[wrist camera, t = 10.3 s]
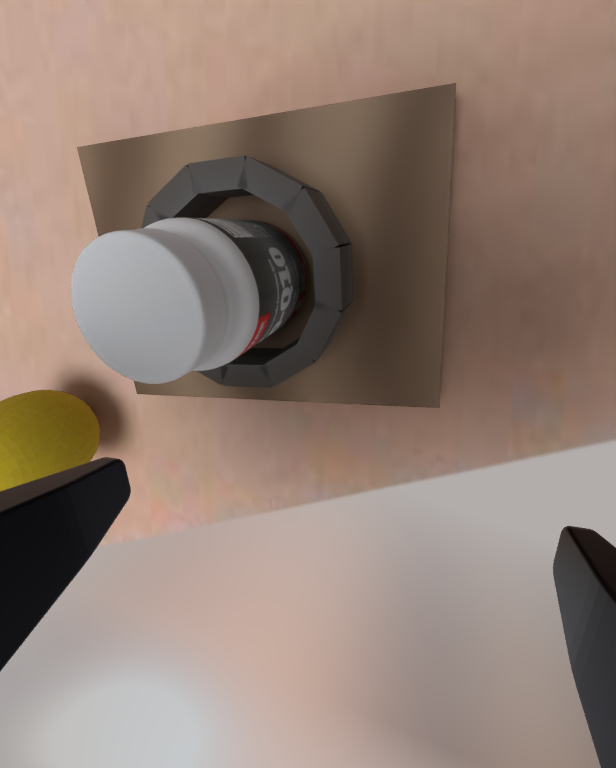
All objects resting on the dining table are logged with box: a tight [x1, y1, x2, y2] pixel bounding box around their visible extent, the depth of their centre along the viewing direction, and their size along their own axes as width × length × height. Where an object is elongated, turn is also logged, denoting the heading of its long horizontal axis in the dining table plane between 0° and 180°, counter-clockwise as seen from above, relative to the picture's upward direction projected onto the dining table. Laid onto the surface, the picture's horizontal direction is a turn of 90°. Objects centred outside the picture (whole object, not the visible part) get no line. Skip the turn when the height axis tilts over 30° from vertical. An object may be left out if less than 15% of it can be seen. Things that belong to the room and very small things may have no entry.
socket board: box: [77, 83, 456, 408], centre depth 17 cm, size 16×12×4 cm
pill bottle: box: [71, 217, 308, 384], centre depth 14 cm, size 5×5×8 cm
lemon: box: [0, 390, 100, 491], centre depth 22 cm, size 6×6×8 cm
